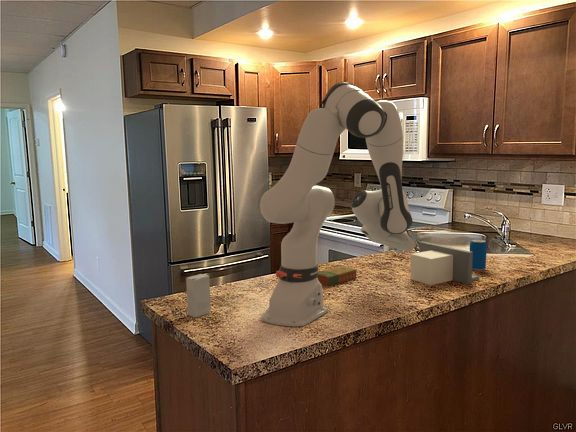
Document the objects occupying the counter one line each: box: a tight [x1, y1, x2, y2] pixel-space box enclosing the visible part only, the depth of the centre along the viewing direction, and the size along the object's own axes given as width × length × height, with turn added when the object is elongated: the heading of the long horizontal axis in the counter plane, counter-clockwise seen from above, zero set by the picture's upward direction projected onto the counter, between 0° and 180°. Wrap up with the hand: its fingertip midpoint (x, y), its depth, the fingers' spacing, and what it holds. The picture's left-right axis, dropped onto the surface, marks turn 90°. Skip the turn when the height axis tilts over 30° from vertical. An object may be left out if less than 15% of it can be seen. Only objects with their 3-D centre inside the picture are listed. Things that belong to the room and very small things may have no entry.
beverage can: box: [469, 238, 488, 271], centre depth 192 cm, size 6×6×12 cm
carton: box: [317, 265, 357, 288], centre depth 179 cm, size 8×16×4 cm, turn 131°
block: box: [410, 250, 453, 286], centre depth 178 cm, size 12×10×10 cm
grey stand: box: [418, 241, 480, 285], centre depth 183 cm, size 9×24×12 cm, turn 31°
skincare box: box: [185, 273, 212, 318], centre depth 143 cm, size 6×4×12 cm
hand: (399, 251), depth 171 cm, fingers closed
